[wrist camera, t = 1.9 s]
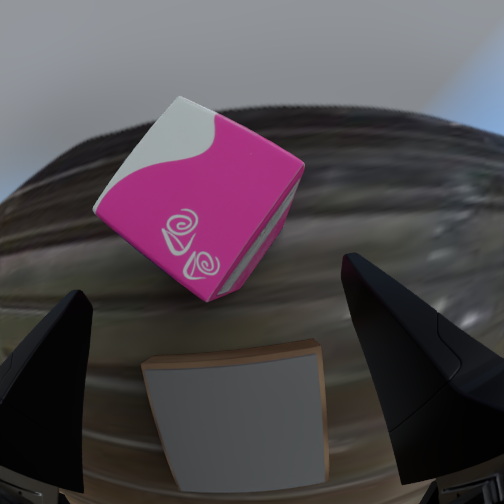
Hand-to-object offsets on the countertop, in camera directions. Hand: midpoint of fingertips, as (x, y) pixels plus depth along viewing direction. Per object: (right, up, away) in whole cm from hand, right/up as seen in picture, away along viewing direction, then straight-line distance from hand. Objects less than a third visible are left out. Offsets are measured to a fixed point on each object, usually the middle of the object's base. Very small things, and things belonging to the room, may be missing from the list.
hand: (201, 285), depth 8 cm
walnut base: (+1, -12, +10) cm, 15 cm away
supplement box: (0, +2, +12) cm, 12 cm away
